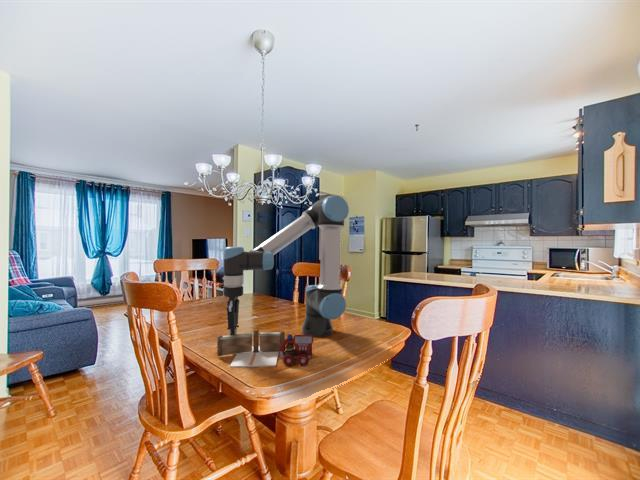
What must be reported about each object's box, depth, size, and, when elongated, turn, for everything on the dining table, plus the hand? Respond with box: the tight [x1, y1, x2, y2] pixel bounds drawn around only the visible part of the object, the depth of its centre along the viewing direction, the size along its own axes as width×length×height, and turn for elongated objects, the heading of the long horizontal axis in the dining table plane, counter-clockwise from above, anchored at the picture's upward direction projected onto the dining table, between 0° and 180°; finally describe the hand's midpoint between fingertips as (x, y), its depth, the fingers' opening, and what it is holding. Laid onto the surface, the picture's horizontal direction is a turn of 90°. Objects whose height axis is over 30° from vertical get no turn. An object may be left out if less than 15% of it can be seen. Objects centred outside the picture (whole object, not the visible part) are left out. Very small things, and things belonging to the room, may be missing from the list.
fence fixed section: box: [252, 328, 286, 352], centre depth 115 cm, size 12×2×9 cm, turn 94°
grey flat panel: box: [216, 332, 253, 357], centre depth 111 cm, size 13×2×7 cm, turn 111°
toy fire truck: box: [278, 333, 314, 367], centre depth 105 cm, size 7×12×10 cm, turn 87°
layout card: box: [229, 345, 279, 368], centre depth 111 cm, size 16×19×1 cm
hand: (233, 344), depth 114 cm, fingers closed
